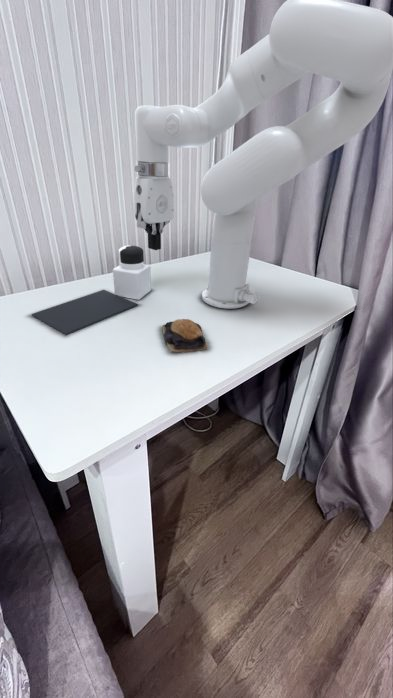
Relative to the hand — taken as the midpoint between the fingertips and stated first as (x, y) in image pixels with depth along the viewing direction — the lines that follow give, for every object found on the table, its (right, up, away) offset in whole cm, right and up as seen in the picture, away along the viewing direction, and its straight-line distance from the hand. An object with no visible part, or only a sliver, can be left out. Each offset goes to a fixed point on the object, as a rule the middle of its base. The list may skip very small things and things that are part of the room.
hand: (154, 248), depth 88 cm
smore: (+8, -25, -19) cm, 32 cm away
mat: (-15, -18, -10) cm, 25 cm away
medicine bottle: (-6, -12, 0) cm, 13 cm away
